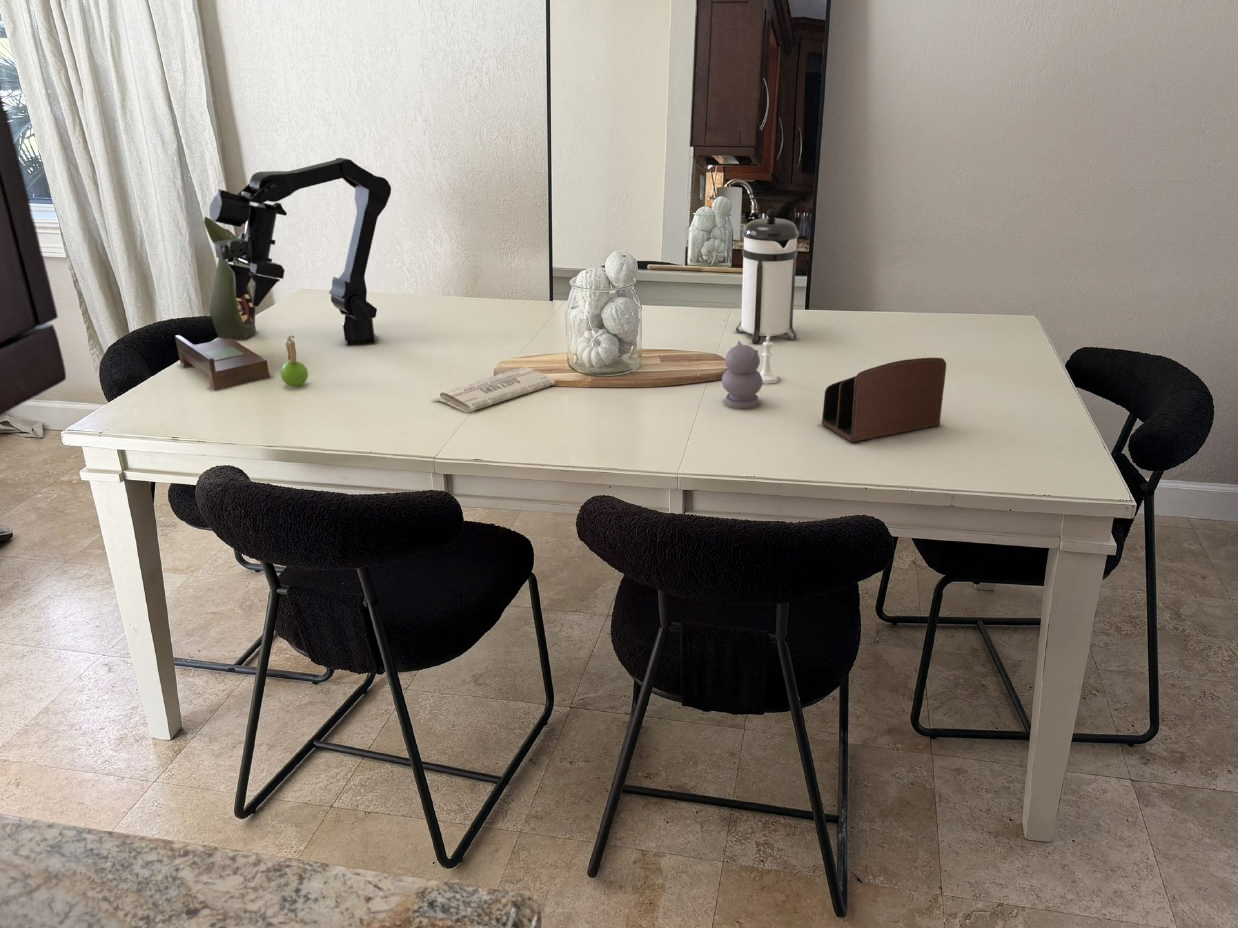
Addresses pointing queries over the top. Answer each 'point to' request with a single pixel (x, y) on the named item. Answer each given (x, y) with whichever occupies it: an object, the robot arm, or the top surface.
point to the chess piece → (767, 364)
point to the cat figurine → (742, 377)
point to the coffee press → (768, 277)
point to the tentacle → (229, 295)
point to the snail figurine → (293, 367)
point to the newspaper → (496, 389)
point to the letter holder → (886, 400)
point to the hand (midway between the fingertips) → (246, 302)
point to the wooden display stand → (223, 362)
